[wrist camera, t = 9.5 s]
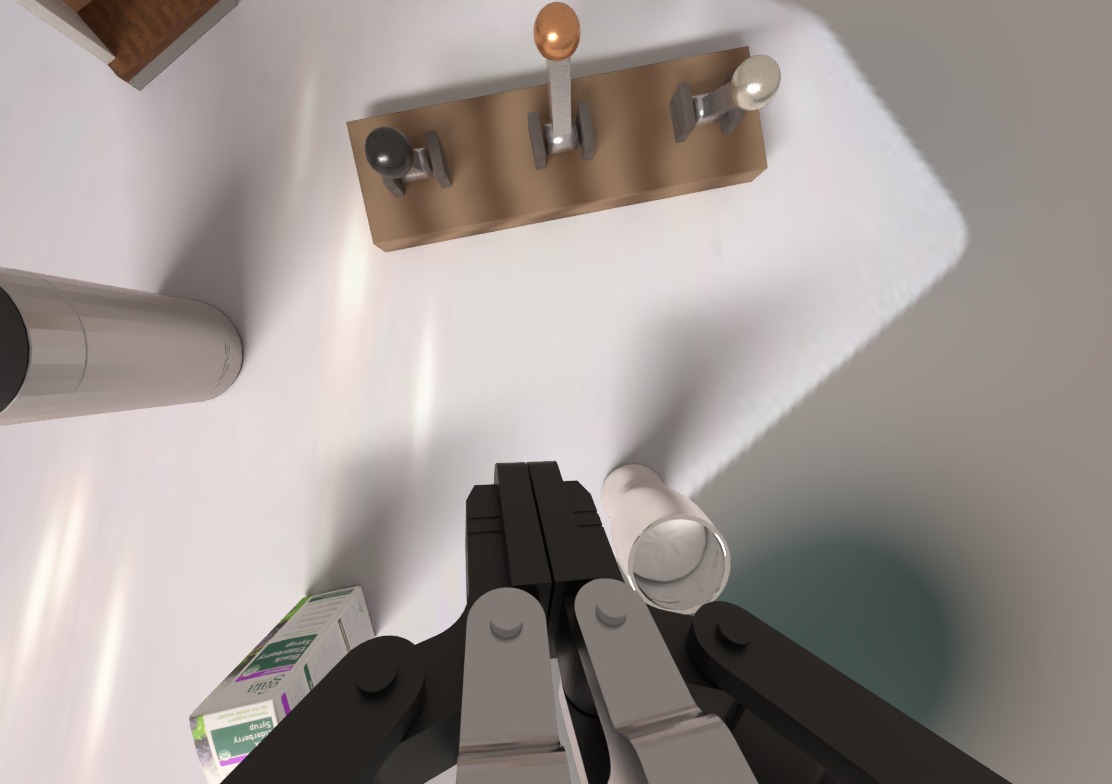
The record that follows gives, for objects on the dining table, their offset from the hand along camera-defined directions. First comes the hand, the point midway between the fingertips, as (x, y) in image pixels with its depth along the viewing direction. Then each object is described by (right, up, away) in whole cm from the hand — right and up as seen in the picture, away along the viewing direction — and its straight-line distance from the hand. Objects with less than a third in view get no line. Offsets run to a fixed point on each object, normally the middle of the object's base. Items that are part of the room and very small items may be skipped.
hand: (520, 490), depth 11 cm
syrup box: (-20, -19, +32) cm, 42 cm away
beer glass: (+8, -7, +32) cm, 34 cm away
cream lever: (+13, +26, +26) cm, 39 cm away
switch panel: (+1, +23, +30) cm, 38 cm away
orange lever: (+1, +23, +26) cm, 35 cm away
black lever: (-11, +21, +26) cm, 35 cm away
